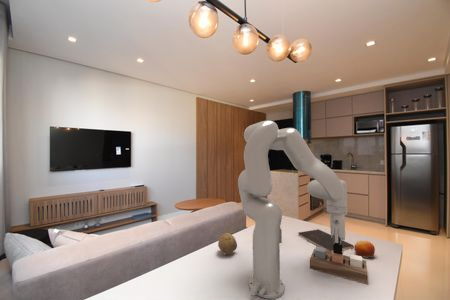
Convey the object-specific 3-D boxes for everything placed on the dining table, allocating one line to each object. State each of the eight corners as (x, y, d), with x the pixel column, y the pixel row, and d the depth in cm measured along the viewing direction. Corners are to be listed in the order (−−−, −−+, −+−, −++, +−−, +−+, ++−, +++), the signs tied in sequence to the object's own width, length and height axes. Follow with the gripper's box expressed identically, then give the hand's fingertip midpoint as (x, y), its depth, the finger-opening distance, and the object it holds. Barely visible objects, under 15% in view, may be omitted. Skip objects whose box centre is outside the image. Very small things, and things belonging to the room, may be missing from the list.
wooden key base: (367, 284, 74) (367, 274, 74) (309, 268, 85) (309, 259, 85) (366, 268, 84) (366, 260, 84) (314, 256, 95) (314, 248, 95)
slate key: (325, 259, 85) (325, 252, 85) (314, 257, 87) (314, 250, 87) (326, 255, 89) (326, 248, 89) (316, 253, 91) (316, 246, 91)
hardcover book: (329, 254, 97) (329, 249, 97) (297, 236, 119) (297, 232, 119) (354, 249, 102) (353, 244, 102) (319, 232, 124) (319, 229, 124)
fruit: (370, 259, 88) (361, 240, 92) (356, 261, 95) (348, 243, 99) (383, 257, 90) (374, 238, 95) (369, 259, 97) (361, 241, 101)
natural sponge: (213, 253, 98) (213, 233, 98) (227, 247, 104) (227, 228, 104) (226, 261, 91) (226, 238, 91) (240, 254, 97) (240, 233, 97)
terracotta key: (342, 264, 82) (342, 256, 82) (331, 261, 84) (331, 253, 84) (343, 259, 85) (343, 252, 85) (332, 257, 87) (332, 250, 87)
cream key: (362, 268, 78) (362, 260, 78) (350, 265, 80) (350, 258, 80) (361, 264, 82) (361, 256, 82) (350, 261, 84) (350, 253, 84)
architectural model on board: (278, 241, 112) (278, 223, 112) (281, 243, 109) (281, 225, 110) (260, 244, 108) (260, 226, 108) (263, 247, 105) (263, 228, 106)
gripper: (346, 215, 77) (347, 264, 76) (347, 206, 89) (348, 248, 89) (324, 212, 81) (325, 258, 80) (328, 204, 93) (329, 244, 93)
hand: (337, 253), depth 85 cm, fingers closed
